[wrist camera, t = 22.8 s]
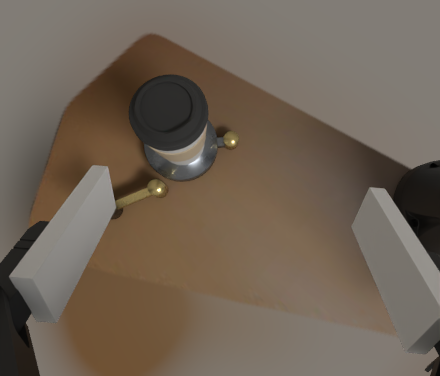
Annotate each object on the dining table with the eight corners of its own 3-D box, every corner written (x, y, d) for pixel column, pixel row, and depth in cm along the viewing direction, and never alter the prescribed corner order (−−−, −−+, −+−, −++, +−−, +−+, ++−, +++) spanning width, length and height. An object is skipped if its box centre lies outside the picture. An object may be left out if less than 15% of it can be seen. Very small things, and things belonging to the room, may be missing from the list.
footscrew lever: (164, 179, 47) (149, 166, 37) (171, 196, 47) (158, 187, 37) (101, 204, 47) (70, 198, 37) (108, 222, 46) (78, 220, 36)
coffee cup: (143, 134, 46) (108, 90, 31) (192, 106, 47) (180, 50, 32) (172, 182, 45) (149, 160, 30) (222, 153, 46) (223, 117, 31)
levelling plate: (241, 135, 48) (242, 131, 46) (212, 199, 47) (211, 197, 45) (153, 97, 49) (150, 91, 47) (122, 158, 48) (117, 154, 46)
